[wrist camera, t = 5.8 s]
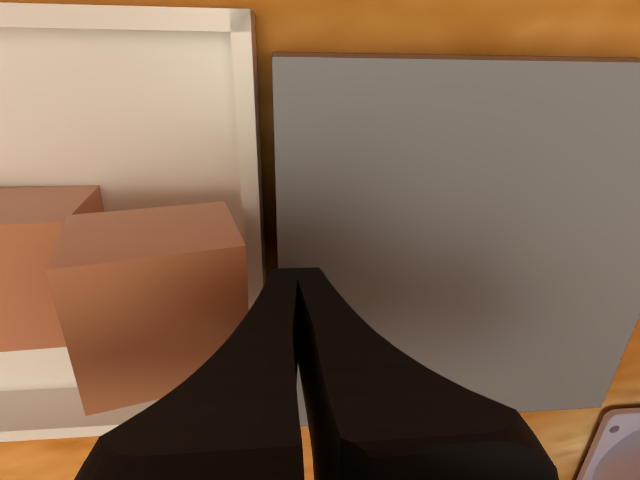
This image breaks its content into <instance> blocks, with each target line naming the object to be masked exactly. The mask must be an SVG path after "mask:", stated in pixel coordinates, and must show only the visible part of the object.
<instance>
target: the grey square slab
mask: <svg viewBox="0 0 640 480" xmlns="http://www.w3.org/2000/svg"><path fill="white" fill-rule="evenodd" d="M272 74H273V109H274V144H275V179H276V214H277V249H278V268H313V267H319V268H320V269H321V270H322V271H323V273H324V274H325V275H326V277H327V278H328V280H329V281H330V282H331V284H332V285H333V286H334V288H335V289H336V290H337V291H338V293H339V294H340V295H341V296H342V297H343V299H344V300H345V301H346V302H347V303H348V304H349V305H350V306H351V308H352V309H353V310H354V311H355V312H356V313H357V314H358V315H359V316H360V317H361V318H362V319H363V320H364V321H365V322H366V323H367V324H368V325H369V326H370V327H371V328H373V329H374V330H375V331H376V332H377V333H378V334H380V335H381V336H382V337H383V338H385V339H386V340H387V341H389V342H390V343H391V344H392V345H394V346H395V347H396V348H398V349H399V350H401V351H402V352H404V353H405V354H407V355H408V356H410V357H411V358H413V359H414V360H416V361H417V362H419V363H421V364H422V365H424V366H425V367H427V368H429V369H431V370H432V371H434V372H436V373H438V374H439V375H441V376H443V377H445V378H447V379H449V380H451V381H453V382H455V383H457V384H459V385H461V386H463V387H465V388H467V389H469V390H471V391H473V392H476V393H478V394H480V395H483V396H485V397H487V398H490V399H492V400H494V401H497V402H499V403H502V404H504V405H506V406H509V407H511V408H513V409H516V410H517V411H518V413H520V412H536V411H552V410H568V409H584V408H600V407H601V406H602V404H603V402H604V399H605V397H606V394H607V392H608V390H609V387H610V385H611V383H612V380H613V378H614V375H615V373H616V371H617V368H618V366H619V364H620V361H621V359H622V356H623V354H624V352H625V349H626V347H627V345H628V342H629V340H630V337H631V335H632V333H633V330H634V328H635V326H636V323H637V321H638V318H639V316H640V58H616V57H557V56H498V55H439V54H380V53H321V52H273V55H272ZM297 399H298V409H299V419H300V426H308V420H307V414H306V408H305V402H304V397H303V391H302V385H301V378H300V372H299V366H298V370H297Z"/></svg>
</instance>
